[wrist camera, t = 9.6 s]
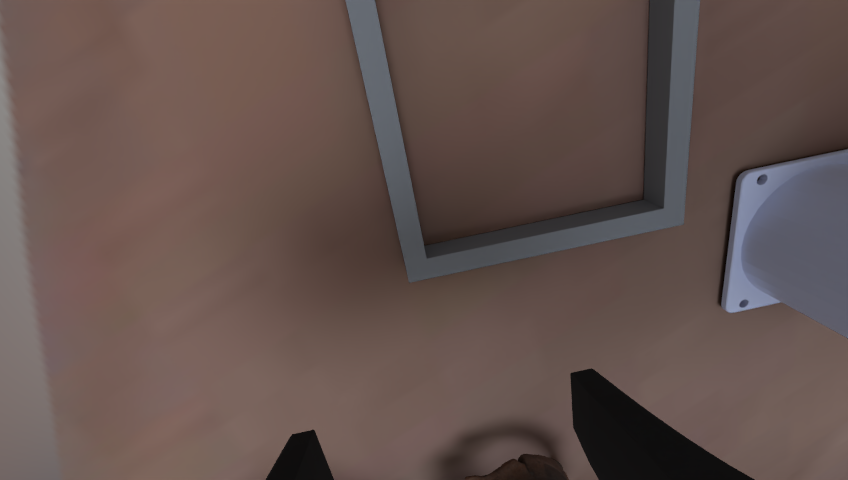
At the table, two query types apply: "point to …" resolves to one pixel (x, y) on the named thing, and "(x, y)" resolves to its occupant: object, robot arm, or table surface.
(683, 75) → the grey square frame
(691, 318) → the table surface
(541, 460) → the brown animal figurine
